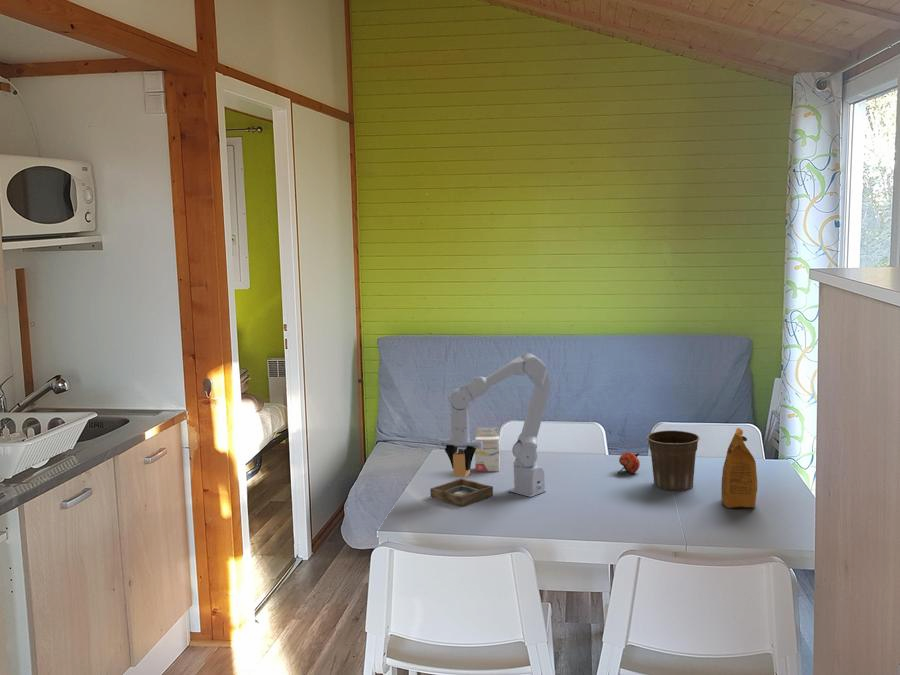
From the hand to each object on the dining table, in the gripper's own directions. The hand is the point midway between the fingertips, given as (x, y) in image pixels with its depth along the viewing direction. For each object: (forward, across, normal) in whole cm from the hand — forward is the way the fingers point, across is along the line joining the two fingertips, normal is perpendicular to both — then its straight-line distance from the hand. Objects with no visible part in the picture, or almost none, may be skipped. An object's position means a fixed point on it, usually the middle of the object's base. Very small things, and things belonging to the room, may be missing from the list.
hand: (461, 469), depth 270 cm
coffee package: (+9, -82, -17) cm, 84 cm away
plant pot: (+9, -61, -29) cm, 68 cm away
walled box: (+9, 0, +1) cm, 9 cm away
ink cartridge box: (+9, +2, -30) cm, 31 cm away
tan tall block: (+2, 0, 0) cm, 2 cm away
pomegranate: (+9, -45, -39) cm, 60 cm away
